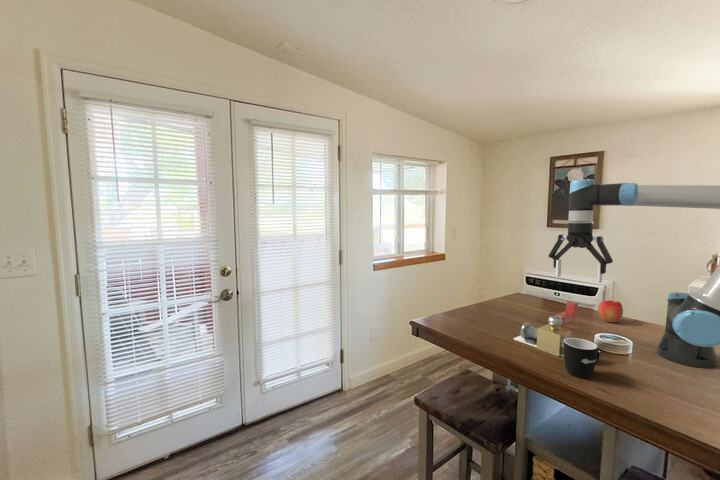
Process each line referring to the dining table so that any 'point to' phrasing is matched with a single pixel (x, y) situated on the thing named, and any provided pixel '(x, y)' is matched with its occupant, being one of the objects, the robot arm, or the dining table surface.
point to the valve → (546, 337)
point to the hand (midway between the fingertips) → (577, 279)
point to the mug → (580, 357)
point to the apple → (610, 310)
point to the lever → (564, 315)
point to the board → (529, 343)
